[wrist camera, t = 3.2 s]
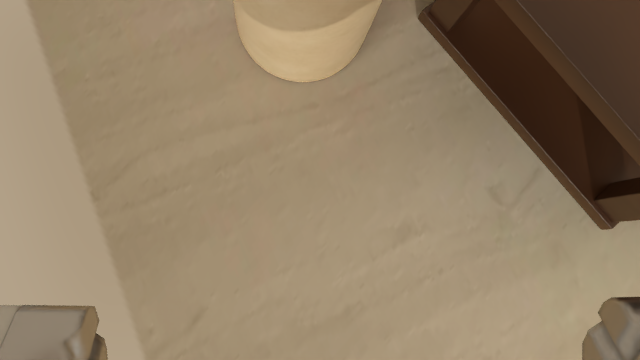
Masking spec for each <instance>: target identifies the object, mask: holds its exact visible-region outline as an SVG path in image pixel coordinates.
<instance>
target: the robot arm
mask: <svg viewBox="0 0 640 360" xmlns="http://www.w3.org/2000/svg"><path fill="white" fill-rule="evenodd" d="M598 314H599V316H600V318H601V320H602V321H601V322H600V323H598V324H597V325H595V326H594V327H592V328H591V329H589V330H588V332H587V335H586V337H585V339H584V341H583V346H582V360H640V297H618V298H610V299H608V300H607V301H605V302H604V303H603V304H602V306H601V308H600V310H599V312H598ZM98 323H99V318H98V315H97V312H96V309H95V307H94V306H47V305H46V306H45V305H42V306H41V305H0V360H107V359H108V358H107V348H106V344H105V340H104V338H102V337H101V336H99V335H98V334H96V330H97V326H98Z"/></svg>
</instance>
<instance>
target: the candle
mask: <svg viewBox="0 0 640 360" xmlns="http://www.w3.org/2000/svg"><path fill="white" fill-rule="evenodd" d="M381 2H382V0H233V3H234V10H235V17H236V23H237V28H238V32H239V35H240V39H241V41H242V43H243V45H244V47H245V49H246V50H247V52H248V53H249V55H250V56H251V57H252V58H253V60H254V61H255V62H256V63H257V64H258V65H259V66H260V67H262V68H263V69H264V70H266V71H267V72H269V73H271V74H272V75H274V76H276V77H279V78H282V79H284V80H289V81H294V82H312V81H318V80H322V79H325V78H327V77H330V76H332V75H334V74H335V73H337V72H339V71H340V70H341V69H343V68H344V67H345V66H346V65H348V64H349V63H350V62H351V60H352V59H353V58H354V57H355V56H356V54H357V53H358V51H359V49H360V47H361V46H362V44H363V42H364V40H365V38H366V36H367V33H368V31H369V29H370V27H371V24H372V22H373V20H374V18H375V15H376V13H377V11H378V9H379V7H380V4H381Z"/></svg>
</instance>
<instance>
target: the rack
mask: <svg viewBox="0 0 640 360" xmlns="http://www.w3.org/2000/svg"><path fill="white" fill-rule="evenodd" d="M418 19H419V20H420V22H421V23H422V24H423V25H424V26H425V27H426V28H427V30H428V31H429V32H430V33H431V34H432V35H433V37H434V38H435V39H436V40H437V41H438V42H439V43H440V45H441V46H442V47H443V48H444V49H445V50H446V51H447V53H448V54H449V55H450V56H451V57H452V58H453V60H454V61H455V62H456V63H457V64H458V65H459V66H460V68H461V69H462V70H463V71H464V72H465V73H466V74H467V76H468V77H469V78H470V79H471V80H472V81H473V83H474V84H475V85H476V86H477V87H478V88H479V89H480V91H481V92H482V93H483V94H484V95H485V96H486V98H487V99H488V100H489V101H490V102H491V103H492V104H493V106H494V107H495V108H496V109H497V110H498V111H499V112H500V114H501V115H502V116H503V117H504V118H505V119H506V121H507V122H508V123H509V124H510V125H511V126H512V127H513V129H514V130H515V131H516V132H517V133H518V134H519V136H520V137H521V138H522V139H523V140H524V141H525V142H526V144H527V145H528V146H529V147H530V148H531V149H532V150H533V152H534V153H535V154H536V155H537V156H538V157H539V159H540V160H541V161H542V162H543V163H544V164H545V165H546V167H547V168H548V169H549V170H550V171H551V172H552V173H553V175H554V176H555V177H556V178H557V179H558V180H559V182H560V183H561V184H562V185H563V186H564V187H565V188H566V190H567V191H568V192H569V193H570V194H571V195H572V197H573V198H574V199H575V200H576V201H577V202H578V203H579V205H580V206H581V207H582V208H583V209H584V210H585V211H586V213H587V214H588V215H589V216H590V217H591V218H592V220H593V221H594V222H595V223H596V224H597V225H598V226H599V228H600V229H602V230H605V229H612V228H613V227H615V226H616V225H617V224H618V223H619V222H621V221H633V220H640V0H435V1H434V2H432V3H431V4H430V5H429V6H427V7H426V8H425V9H424V10H423V11H422V12H421V14H420V15H419V17H418Z"/></svg>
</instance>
